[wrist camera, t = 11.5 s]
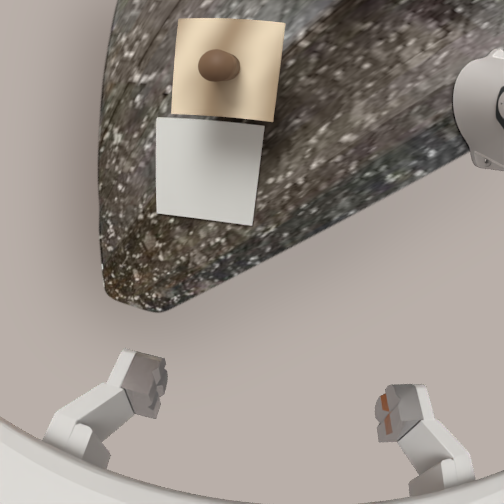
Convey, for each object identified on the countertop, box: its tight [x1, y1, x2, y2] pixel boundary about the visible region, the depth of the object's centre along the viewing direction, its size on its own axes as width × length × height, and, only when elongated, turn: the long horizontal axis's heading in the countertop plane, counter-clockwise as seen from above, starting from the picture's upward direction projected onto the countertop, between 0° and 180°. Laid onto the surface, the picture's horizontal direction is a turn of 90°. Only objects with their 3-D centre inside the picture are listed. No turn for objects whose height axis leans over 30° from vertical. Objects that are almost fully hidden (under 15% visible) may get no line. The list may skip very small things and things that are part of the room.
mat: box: [156, 117, 265, 226], centre depth 40 cm, size 14×14×1 cm
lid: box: [171, 18, 285, 122], centre depth 24 cm, size 10×10×6 cm
